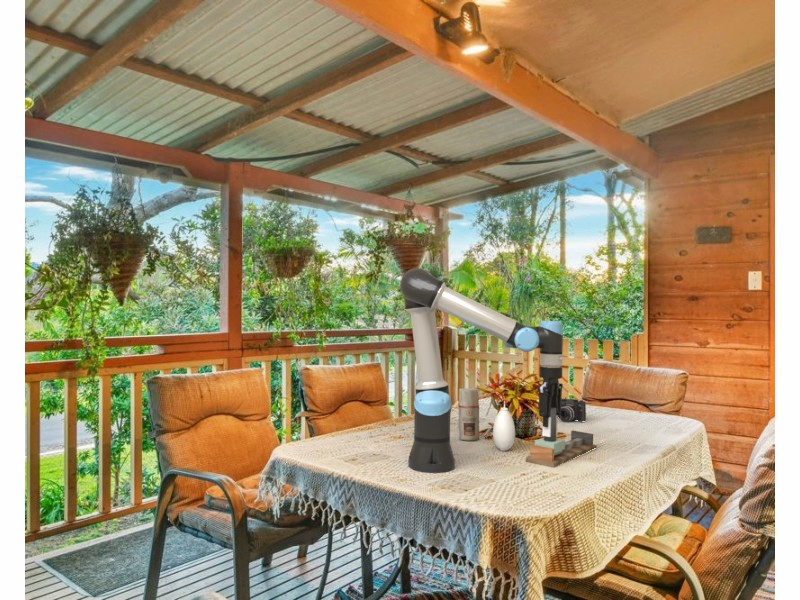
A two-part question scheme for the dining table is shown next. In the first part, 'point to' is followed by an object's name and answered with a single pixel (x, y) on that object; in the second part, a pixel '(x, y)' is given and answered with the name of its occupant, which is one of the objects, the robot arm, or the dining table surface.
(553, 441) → the green base with post
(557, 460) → the rail bed
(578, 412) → the camera
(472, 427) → the spray can
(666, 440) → the dining table surface
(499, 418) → the white air blower bulb
